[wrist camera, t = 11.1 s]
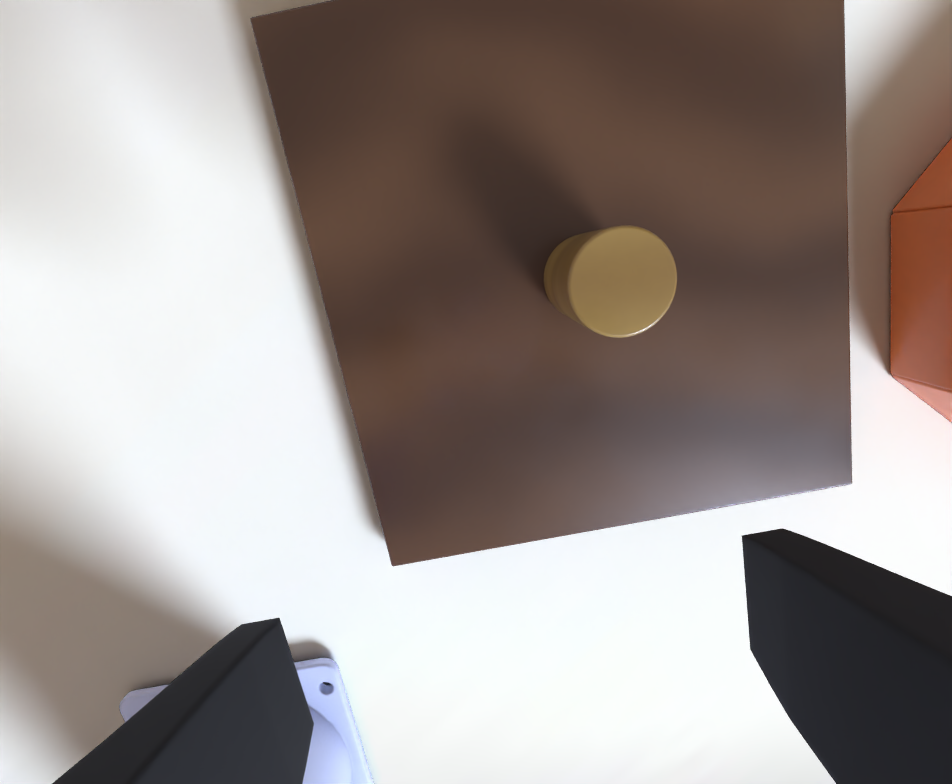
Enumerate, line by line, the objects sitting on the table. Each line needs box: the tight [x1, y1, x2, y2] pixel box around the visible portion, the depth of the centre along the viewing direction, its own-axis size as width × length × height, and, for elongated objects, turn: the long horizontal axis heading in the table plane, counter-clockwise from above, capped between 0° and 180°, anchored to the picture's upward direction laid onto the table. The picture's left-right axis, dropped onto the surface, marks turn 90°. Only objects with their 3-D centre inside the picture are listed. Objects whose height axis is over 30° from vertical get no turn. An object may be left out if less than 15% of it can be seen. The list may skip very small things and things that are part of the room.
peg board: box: [251, 0, 852, 566], centre depth 14 cm, size 16×15×5 cm
